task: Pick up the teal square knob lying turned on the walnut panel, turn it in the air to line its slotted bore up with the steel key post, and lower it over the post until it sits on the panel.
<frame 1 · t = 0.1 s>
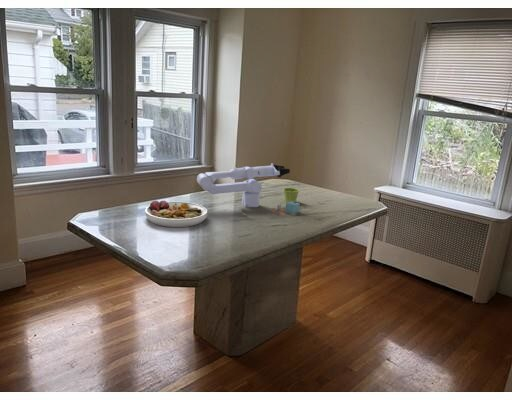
hand: (286, 169, 239), 22 cm above the table, tool horizontal, fingers open, 7 cm apart
plant pot: (290, 204, 251), on the table
key post: (278, 210, 232), resting on panel
bowl: (176, 219, 210), on the table
panel: (285, 213, 231), on the table
knob: (292, 212, 230), point 1 cm above the table, touching panel
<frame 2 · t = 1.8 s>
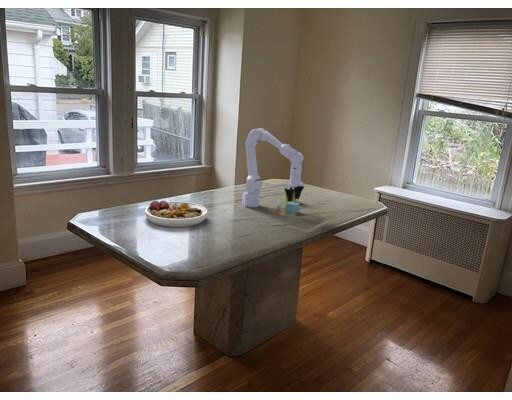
hand: (293, 200, 228), 8 cm above the table, tool pointing down, fingers open, 7 cm apart
nothing on the table moved.
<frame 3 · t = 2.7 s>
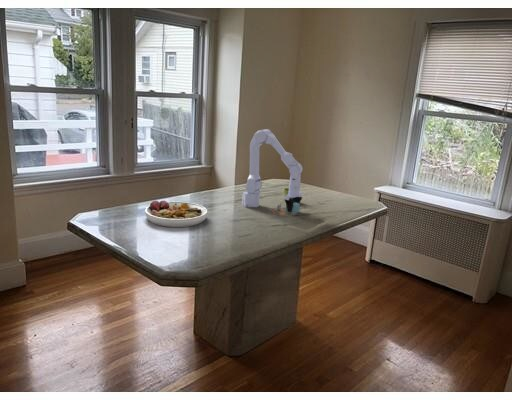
hand: (292, 210, 230), 2 cm above the table, tool pointing down, fingers closed on knob, 5 cm apart
knob: (292, 212, 230), point 1 cm above the table, touching gripper, panel
everything else where it was.
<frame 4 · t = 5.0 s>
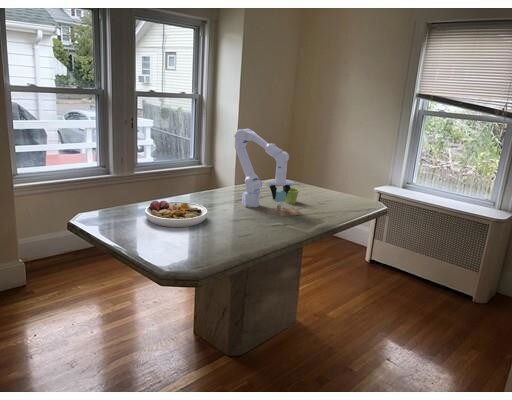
hand: (279, 198, 230), 8 cm above the table, tool pointing down, fingers closed on knob, 5 cm apart
knob: (278, 200, 231), point 7 cm above the table, touching gripper
everything else where it was.
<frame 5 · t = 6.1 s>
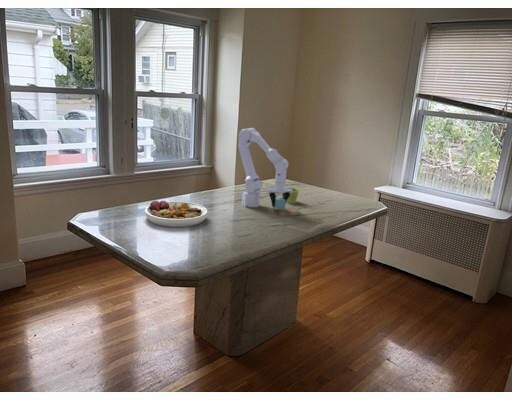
hand: (278, 205, 231), 4 cm above the table, tool pointing down, fingers closed on knob, 5 cm apart
knob: (278, 207, 232), point 3 cm above the table, touching gripper
everything else where it was.
when the fingers open (4 cm above the table, at t = 7.1 s): knob drops 2 cm, resting on panel.
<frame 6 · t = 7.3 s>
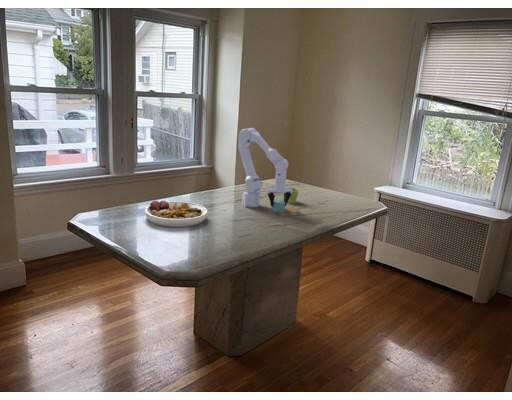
hand: (278, 205, 231), 4 cm above the table, tool pointing down, fingers open, 7 cm apart
knob: (278, 210, 232), point 1 cm above the table, touching panel
everything else where it was.
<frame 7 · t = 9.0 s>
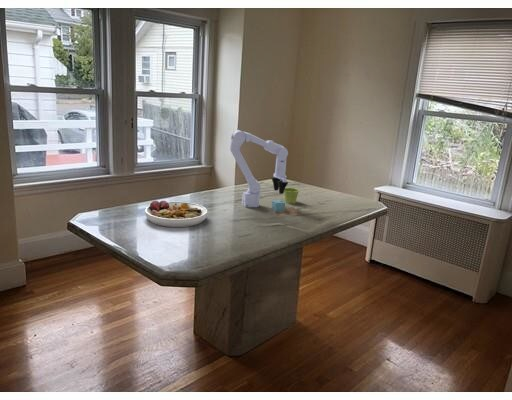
hand: (278, 191, 238), 9 cm above the table, tool pointing down, fingers open, 7 cm apart
nothing on the table moved.
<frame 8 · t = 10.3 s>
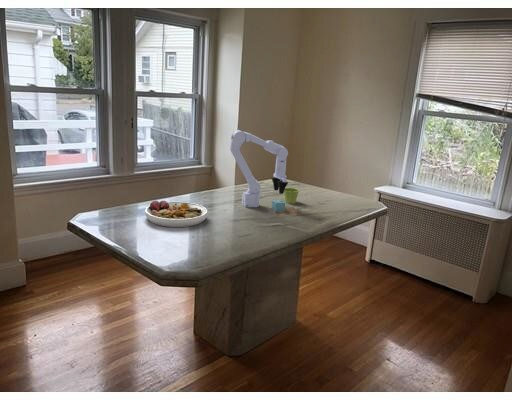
hand: (278, 191, 238), 9 cm above the table, tool pointing down, fingers open, 7 cm apart
nothing on the table moved.
at the end: knob 0.0 cm from the target spot, point 1.2 cm above the table; knob tilted 0°; the gripper is holding nothing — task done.
